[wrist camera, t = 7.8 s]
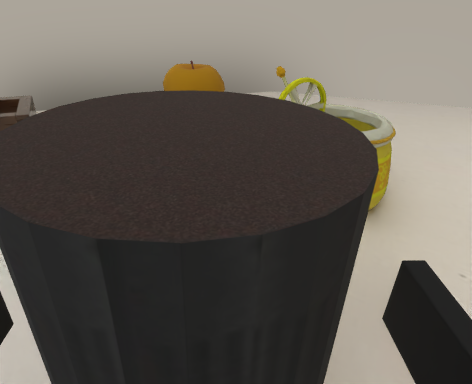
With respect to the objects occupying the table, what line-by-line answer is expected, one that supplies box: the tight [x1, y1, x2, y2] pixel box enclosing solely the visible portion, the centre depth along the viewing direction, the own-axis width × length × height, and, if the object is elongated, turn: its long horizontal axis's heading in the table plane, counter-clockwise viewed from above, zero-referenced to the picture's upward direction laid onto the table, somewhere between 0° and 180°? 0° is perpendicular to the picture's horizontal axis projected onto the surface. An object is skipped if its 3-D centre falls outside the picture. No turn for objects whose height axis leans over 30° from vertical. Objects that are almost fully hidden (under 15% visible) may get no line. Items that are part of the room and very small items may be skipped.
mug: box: [277, 66, 396, 210], centre depth 32 cm, size 13×11×12 cm
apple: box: [163, 61, 225, 92], centre depth 52 cm, size 9×9×9 cm
